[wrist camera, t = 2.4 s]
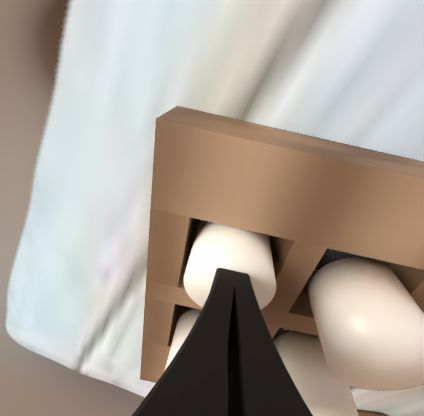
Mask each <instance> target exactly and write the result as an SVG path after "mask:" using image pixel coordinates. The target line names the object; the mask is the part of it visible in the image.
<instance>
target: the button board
mask: <svg viewBox="0 0 424 416" xmlns="http://www.w3.org/2000/svg"><path fill="white" fill-rule="evenodd" d="M195 219H200V220H204V221H209V222H213V223H218V224H222V225H226V226H231V227H235V228H240V229H244V230H249V231H253V232H258V233H262V234H266V235H271V236H272V237H271V239H270V247H271V253H272V260H273V266H274V273H275V280H276V292H275V295H274V297H273V299H272V300H271V302H270V303H269V304H268V305H267V306H265V307H264V308H262V309H261V313H262V315H263V318H264V320H265V323H266V325H267V328H268V330H269V332H270V335H271V337H272V339H273V340H274V339H275V338H276V337H278V336H280V335H282V334H285V333H289V332H287V331H283V330H279V327H280V328H284V329H289V330H293V331H298V332H302V333H307V334H311V335H316V336H319V334H318V330H317V327H316V323H315V320H314V316H313V313H312V309H311V305H310V302H309V298H308V295H307V284H308V281H309V279H310V278H311V277H310V276H311V274H312V273H313V271H314V269H315V268H316V266H317V264H318V263H319V261H320V260H321V258H322V256H323V255H324V253H325V251H326V250H327V248H328V249H333V250H337V251H342V252H346V253H351V254H355V255H360V256H364V257H368V258H372V259H375V260H378V261H380V262H383V263H384V264H386V265H387V266H389V267H390V268H391V269H392V271H393V272H394V273H395V275H396V276H397V277H398V279H399V280H400V282H401V283H402V284H403V286H404V287H405V288H406V290H407V291H408V293H409V294H410V295H411V297H412V298H413V299H414V301H415V302H416V303H417V305H418V306H419V308H420V309H421V310H422V312H423V313H424V162H422V161H417V160H413V159H409V158H404V157H400V156H395V155H391V154H387V153H382V152H378V151H373V150H369V149H364V148H360V147H356V146H351V145H347V144H342V143H338V142H334V141H329V140H325V139H320V138H316V137H312V136H307V135H303V134H298V133H294V132H289V131H285V130H281V129H276V128H272V127H267V126H263V125H259V124H254V123H250V122H245V121H241V120H237V119H232V118H228V117H223V116H219V115H214V114H210V113H206V112H201V111H197V110H192V109H188V108H184V107H179V106H177V107H175V108H173V109H172V110H170V111H168V112H166V113H165V114H163V115H161V116H160V117H158V118H156V130H155V146H154V162H153V179H152V195H151V211H150V228H149V244H148V260H147V277H146V293H145V309H144V326H143V342H142V358H141V375H140V379H142V380H146V381H151V382H155V383H157V381H158V380H159V379H160V377H161V376H162V374H163V373H164V371H165V368H166V364H167V360H168V356H169V352H170V348H171V344H172V341H173V337H174V333H175V329H176V325H177V321H178V319H179V317H180V316H181V315H182V314H183V313H185V312H187V311H190V310H189V309H185V308H181V307H178V306H179V305H182V306H186V307H191V308H195V309H200V310H202V307H201V306H199V305H198V304H196V303H195V302H194V301H193V300H192V299H191V298H190V297H189V295H188V294H187V292H186V290H185V287H184V281H183V280H184V274H185V271H186V267H187V264H188V260H189V257H190V253H191V250H189V247H190V241H191V236H192V230H193V225H194V220H195Z"/></svg>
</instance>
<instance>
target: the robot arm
mask: <svg viewBox="0 0 424 416" xmlns="http://www.w3.org/2000/svg"><path fill="white" fill-rule="evenodd" d="M132 416H313V415H312V413H311V412H310V410H309V408H308V407H307V405H306V403H305V402H304V400H303V398H302V396H301V395H300V393H299V391H298V389H297V387H296V386H295V384H294V382H293V380H292V378H291V376H290V374H289V372H288V371H287V369H286V367H285V365H284V363H283V361H282V359H281V357H280V355H279V352H278V350H277V348H276V346H275V344H274V342H273V339H272V337H271V335H270V332H269V330H268V328H267V325H266V323H265V320H264V318H263V315H262V313H261V310H260V307H259V305H258V302H257V299H256V296H255V293H254V290H253V287H252V283H251V280H250V276H249V275H248V274H246V273H242V272H237V271H233V270H228V269H224V268H217V269H216V272H215V276H214V279H213V283H212V286H211V290H210V293H209V295H208V297H207V300H206V302H205V304H204V306H203V308H202V310H201V312H200V314H199V316H198V318H197V320H196V322H195V323H194V325H193V327H192V329H191V331H190V332H189V334H188V336H187V337H186V339H185V341H184V342H183V344H182V346H181V347H180V349H179V350H178V352H177V353H176V355H175V357H174V358H173V360H172V361H171V362H170V364H169V365H168V367H167V368H166V370H165V371H164V373H163V374H162V376H161V377H160V379H159V380H158V381H157V383H156V384H155V386H154V387H153V388H152V390H151V391H150V392H149V394H148V395H147V396H146V398H145V399H144V400H143V402H142V403H141V404H140V406H139V407H138V408H137V410H136V411H135V412H134V414H133V415H132Z"/></svg>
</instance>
